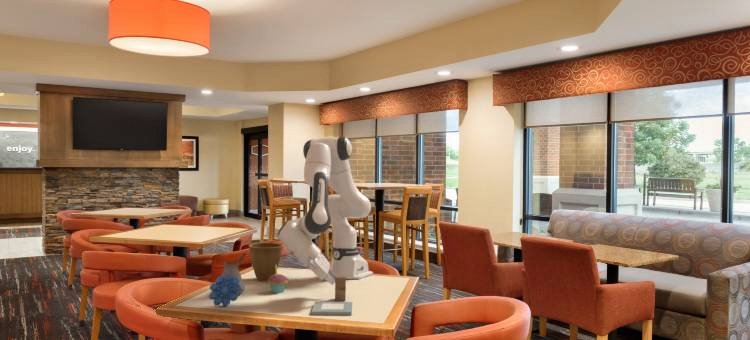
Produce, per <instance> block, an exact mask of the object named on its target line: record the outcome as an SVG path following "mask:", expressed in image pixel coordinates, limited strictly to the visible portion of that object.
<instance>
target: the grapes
mask: <svg viewBox="0 0 750 340" xmlns="http://www.w3.org/2000/svg"><path fill="white" fill-rule="evenodd" d="M232 278H233V276H232V275H231V274H227V275H226V276H225V277H223V276H221V275H219V276H218V277H216V279H215V282H213V283H212V284H210V286H209V290H210V291H211V292H209V295H208V298H209V299H210V300H213V304H214V305H215V306H220V305H222V306H223V307H227V306H229V305H230V304H231V302H235V301H237V299H238V297H239V295H237V293H238V292H240V291H241V286H240V285H237V284H238V283H239V278H238V277H234V278H233V279H232Z"/></svg>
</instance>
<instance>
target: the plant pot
mask: <svg viewBox="0 0 750 340" xmlns="http://www.w3.org/2000/svg"><path fill="white" fill-rule="evenodd" d="M248 248H249V255H250V261H251V264H252V265H251V266H252V268H253V272H254V275H255V278H256V280H257V281H259V282H267V281H268V278H269V277H270V276H272V275H275V274H276V271H275V265H277V269H279V268H278V267H279V263H280V259H281V255H282V249H283V244H281V243H277V242H255V243H251V244H249V245H248Z"/></svg>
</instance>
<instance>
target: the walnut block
mask: <svg viewBox="0 0 750 340" xmlns="http://www.w3.org/2000/svg"><path fill="white" fill-rule="evenodd" d="M334 280H335V283H334V286H335V287H334V302H346V298H347V297H346V296H347V293H346V291H347V288H346V284H347V279H346V276H336V277H335V279H334Z"/></svg>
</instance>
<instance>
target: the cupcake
mask: <svg viewBox="0 0 750 340" xmlns="http://www.w3.org/2000/svg"><path fill="white" fill-rule="evenodd" d="M275 271H276V274H275V275H272V276H270V277H269V278H268V281H266V282H267V284H268V285H269V287H270V290H271V292H272V293H274V294H275V293H277V294H281V293H283V292H284V291H285V287H286V285H287V284H288V283H289V279H288V277H287V276H285V275H283V274H279V273H278V268H277V265H275Z"/></svg>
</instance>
